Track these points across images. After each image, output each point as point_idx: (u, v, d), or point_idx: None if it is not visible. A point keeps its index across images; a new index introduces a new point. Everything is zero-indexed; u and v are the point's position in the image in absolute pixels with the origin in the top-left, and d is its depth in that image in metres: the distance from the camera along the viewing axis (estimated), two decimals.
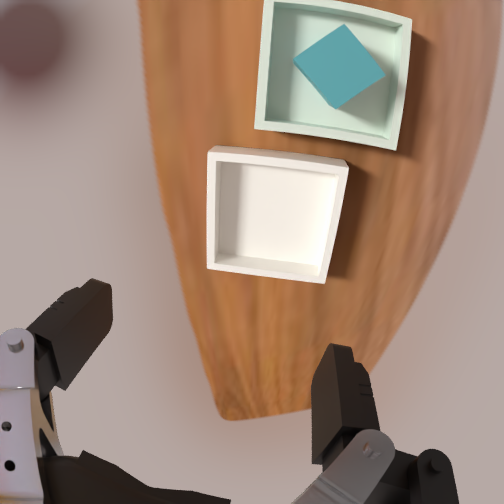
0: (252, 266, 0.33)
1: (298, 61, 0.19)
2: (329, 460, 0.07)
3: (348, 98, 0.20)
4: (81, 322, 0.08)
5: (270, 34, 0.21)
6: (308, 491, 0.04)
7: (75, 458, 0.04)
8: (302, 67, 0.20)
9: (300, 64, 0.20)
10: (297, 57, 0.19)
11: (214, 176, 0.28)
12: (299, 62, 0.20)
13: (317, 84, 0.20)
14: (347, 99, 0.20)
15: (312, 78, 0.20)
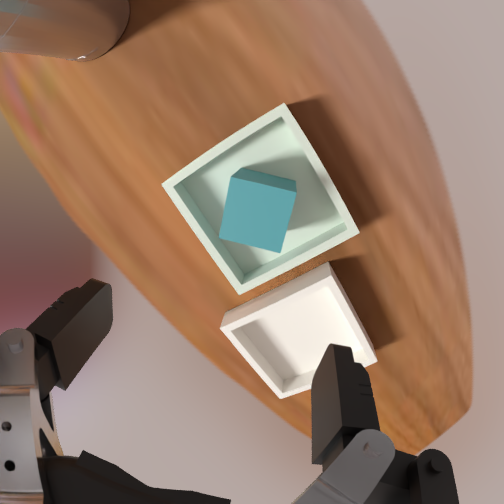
0: None
1: (223, 237, 0.25)
2: (329, 460, 0.07)
3: (283, 237, 0.24)
4: (81, 322, 0.08)
5: (192, 216, 0.27)
6: (308, 491, 0.04)
7: (75, 458, 0.04)
8: (230, 239, 0.25)
9: (227, 238, 0.25)
10: (220, 234, 0.25)
11: (237, 340, 0.32)
12: (225, 237, 0.25)
13: (251, 244, 0.25)
14: (282, 238, 0.24)
15: (244, 242, 0.25)
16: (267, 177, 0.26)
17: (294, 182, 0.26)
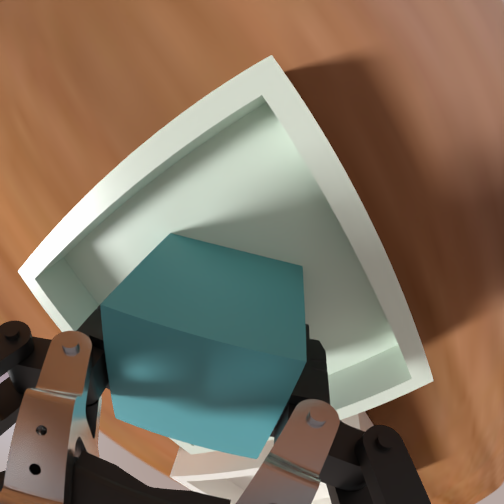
0: None
1: (125, 419, 0.09)
2: (278, 431, 0.08)
3: (262, 440, 0.08)
4: None
5: None
6: (259, 471, 0.05)
7: (75, 458, 0.04)
8: (140, 426, 0.09)
9: (132, 423, 0.09)
10: (117, 414, 0.09)
11: (199, 490, 0.16)
12: (128, 420, 0.09)
13: (188, 441, 0.09)
14: (262, 442, 0.08)
15: (171, 436, 0.09)
16: (227, 272, 0.10)
17: (299, 277, 0.10)
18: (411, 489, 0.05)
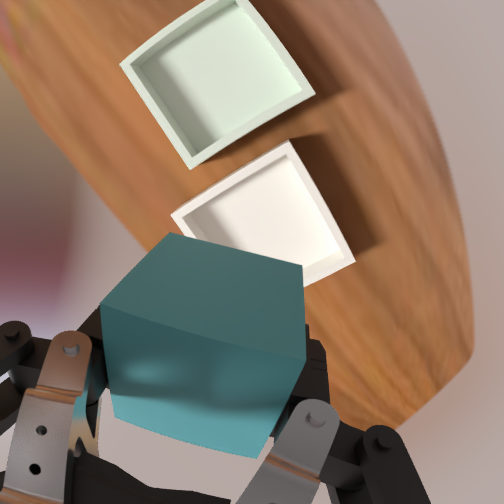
0: None
1: (125, 419, 0.09)
2: (278, 431, 0.08)
3: (262, 440, 0.08)
4: None
5: (145, 89, 0.24)
6: (259, 471, 0.05)
7: (75, 458, 0.04)
8: (140, 425, 0.09)
9: (132, 422, 0.09)
10: (117, 413, 0.09)
11: (190, 230, 0.29)
12: (127, 419, 0.09)
13: (188, 440, 0.09)
14: (262, 441, 0.08)
15: (171, 435, 0.09)
16: (226, 271, 0.10)
17: (299, 276, 0.10)
18: (411, 489, 0.05)
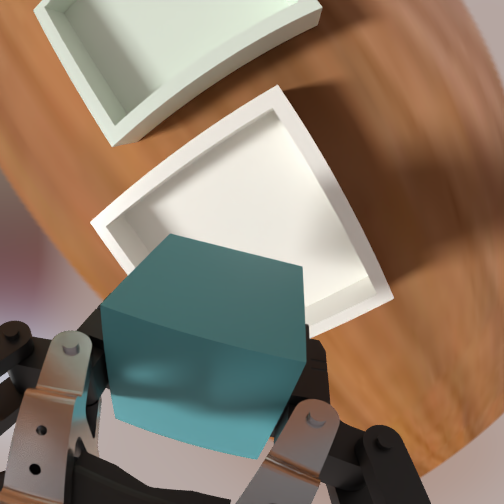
0: None
1: (125, 420, 0.09)
2: (278, 431, 0.08)
3: (262, 441, 0.08)
4: None
5: (59, 34, 0.12)
6: (259, 471, 0.05)
7: (75, 458, 0.04)
8: (140, 426, 0.09)
9: (132, 423, 0.09)
10: (117, 414, 0.09)
11: (119, 247, 0.17)
12: (128, 420, 0.09)
13: (188, 441, 0.09)
14: (262, 442, 0.08)
15: (171, 436, 0.09)
16: (226, 272, 0.10)
17: (299, 278, 0.10)
18: (411, 489, 0.05)
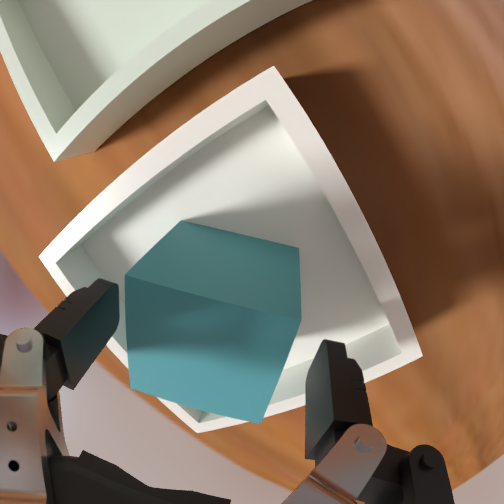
0: None
1: (139, 388, 0.10)
2: (321, 455, 0.07)
3: (265, 402, 0.10)
4: (89, 321, 0.09)
5: (3, 24, 0.08)
6: (301, 487, 0.04)
7: (75, 458, 0.04)
8: (153, 394, 0.10)
9: (146, 391, 0.10)
10: (132, 383, 0.10)
11: (73, 289, 0.12)
12: (142, 389, 0.10)
13: (198, 407, 0.10)
14: (265, 404, 0.10)
15: (182, 402, 0.10)
16: (232, 251, 0.11)
17: (296, 256, 0.12)
18: None
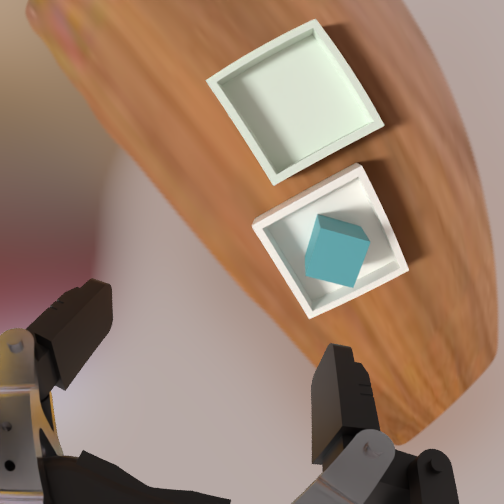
0: (344, 294, 0.33)
1: (309, 275, 0.30)
2: (329, 460, 0.07)
3: (356, 275, 0.29)
4: (81, 322, 0.08)
5: (233, 107, 0.28)
6: (308, 491, 0.04)
7: (75, 458, 0.04)
8: (315, 277, 0.30)
9: (312, 276, 0.30)
10: (307, 273, 0.30)
11: (269, 241, 0.32)
12: (311, 275, 0.30)
13: (331, 281, 0.30)
14: (356, 276, 0.29)
15: (326, 279, 0.30)
16: (342, 225, 0.31)
17: (361, 228, 0.31)
18: None
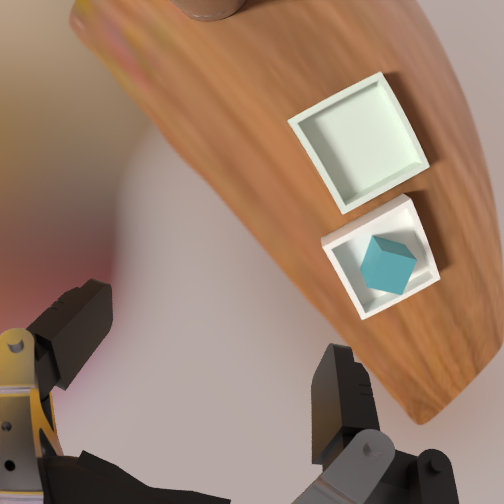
0: (390, 299, 0.39)
1: (370, 286, 0.36)
2: (329, 460, 0.07)
3: (405, 286, 0.35)
4: (81, 322, 0.08)
5: (311, 147, 0.33)
6: (308, 491, 0.04)
7: (75, 458, 0.04)
8: (374, 288, 0.36)
9: (372, 287, 0.36)
10: (369, 285, 0.36)
11: (336, 259, 0.38)
12: (371, 286, 0.36)
13: (386, 290, 0.36)
14: (404, 286, 0.35)
15: (382, 289, 0.36)
16: (392, 245, 0.37)
17: (405, 247, 0.37)
18: None
